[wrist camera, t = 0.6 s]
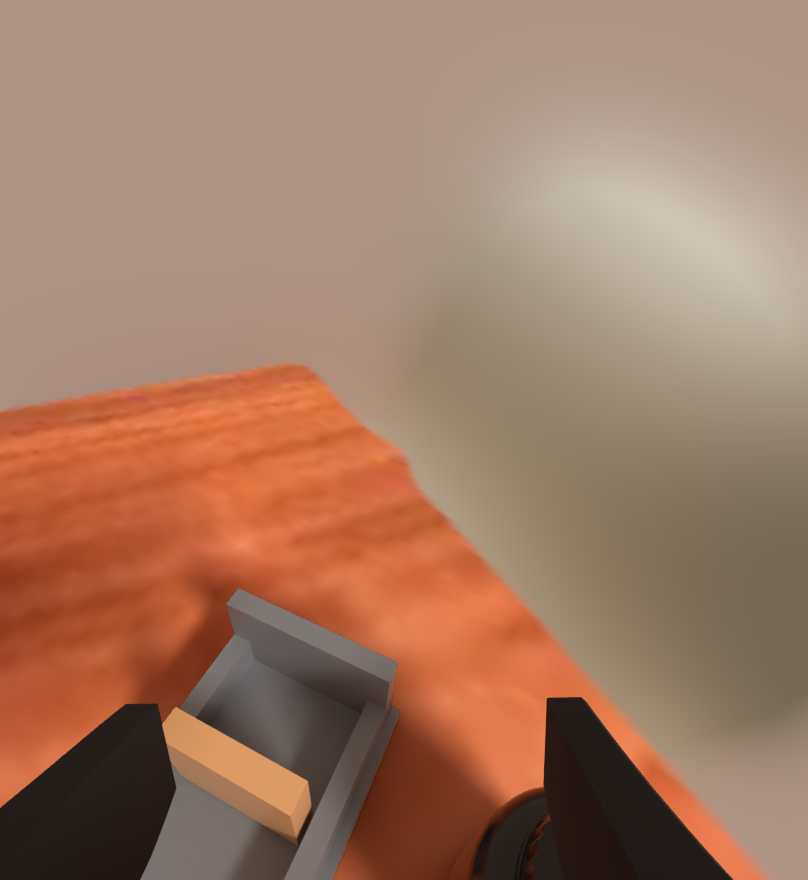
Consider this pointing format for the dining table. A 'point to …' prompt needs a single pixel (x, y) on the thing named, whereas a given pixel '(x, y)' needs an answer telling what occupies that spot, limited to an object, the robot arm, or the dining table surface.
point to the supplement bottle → (513, 844)
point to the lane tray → (282, 746)
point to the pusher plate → (239, 776)
